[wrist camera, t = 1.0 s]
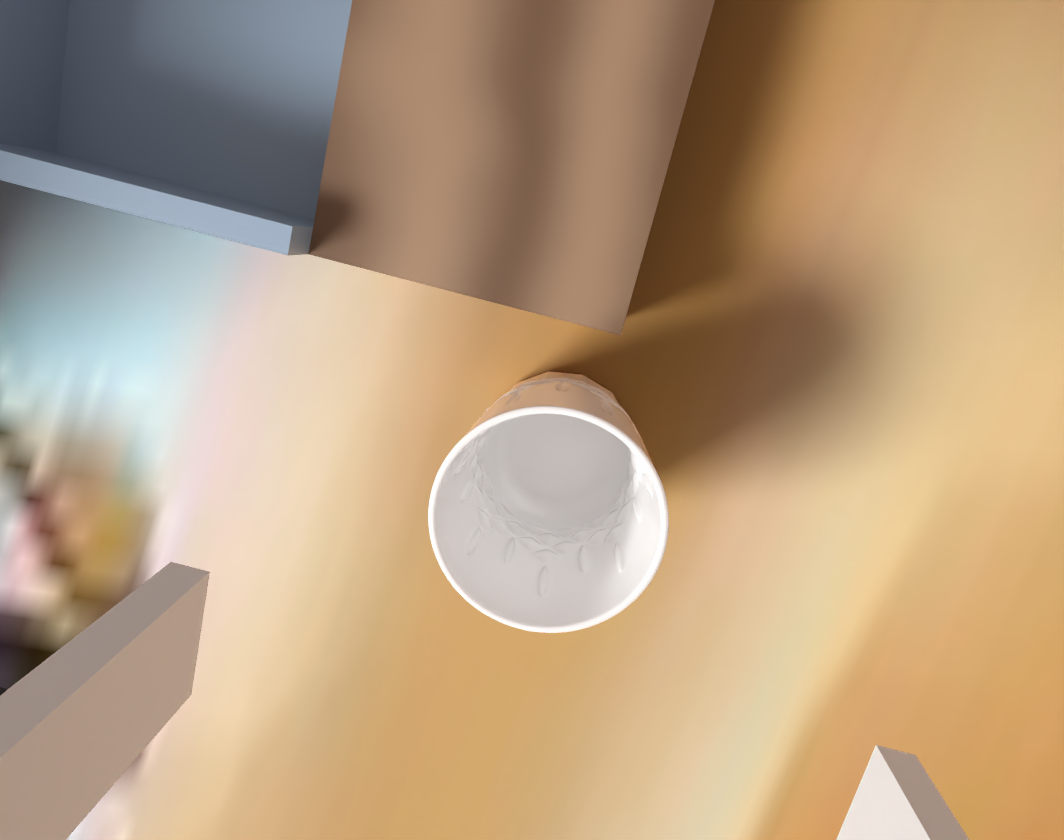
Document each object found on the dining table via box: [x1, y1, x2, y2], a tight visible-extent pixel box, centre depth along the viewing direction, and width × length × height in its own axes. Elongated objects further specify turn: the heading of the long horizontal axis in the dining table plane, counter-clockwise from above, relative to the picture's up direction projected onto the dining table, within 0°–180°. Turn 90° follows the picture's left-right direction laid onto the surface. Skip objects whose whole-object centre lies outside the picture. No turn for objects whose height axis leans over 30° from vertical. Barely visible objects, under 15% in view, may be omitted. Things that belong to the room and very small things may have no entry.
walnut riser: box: [309, 0, 715, 335], centre depth 28 cm, size 12×18×5 cm, turn 166°
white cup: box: [428, 371, 669, 633], centre depth 30 cm, size 8×8×10 cm
